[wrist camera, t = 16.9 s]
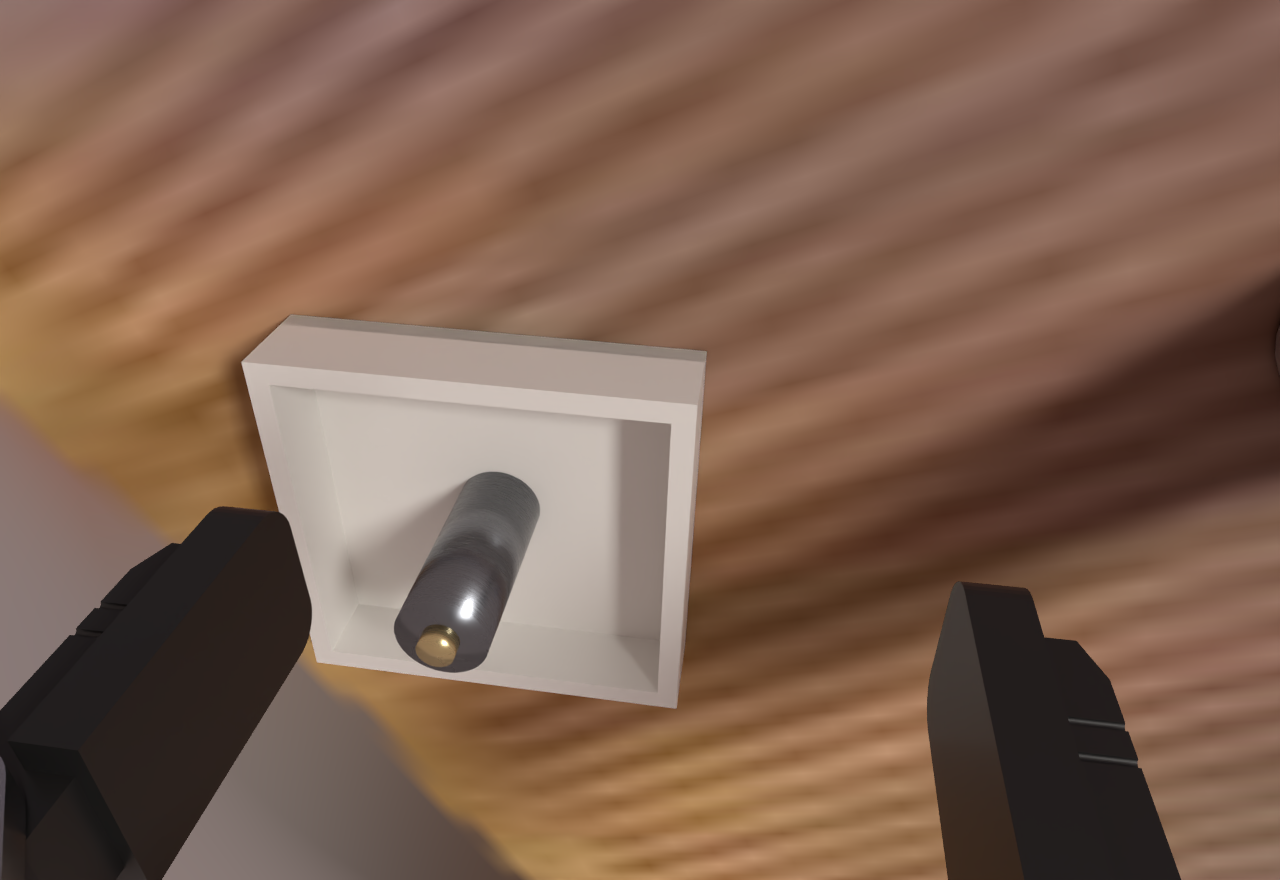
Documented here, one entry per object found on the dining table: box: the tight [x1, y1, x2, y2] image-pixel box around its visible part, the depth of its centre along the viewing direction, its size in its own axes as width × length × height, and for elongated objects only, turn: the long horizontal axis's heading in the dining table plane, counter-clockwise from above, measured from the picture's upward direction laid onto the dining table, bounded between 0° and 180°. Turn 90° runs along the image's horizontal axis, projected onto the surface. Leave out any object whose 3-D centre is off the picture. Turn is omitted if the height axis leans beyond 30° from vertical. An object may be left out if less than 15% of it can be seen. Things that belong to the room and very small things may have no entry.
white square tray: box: [241, 315, 707, 709], centre depth 44 cm, size 19×18×4 cm
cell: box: [394, 472, 540, 673], centre depth 41 cm, size 4×4×10 cm
